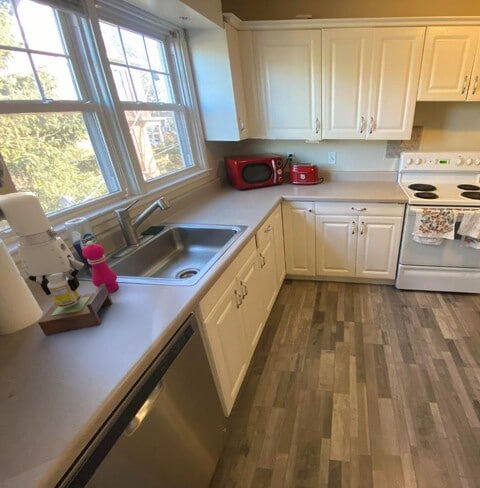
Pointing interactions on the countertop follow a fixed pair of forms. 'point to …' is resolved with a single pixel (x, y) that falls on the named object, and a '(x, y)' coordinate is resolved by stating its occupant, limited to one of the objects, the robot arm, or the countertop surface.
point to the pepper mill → (100, 267)
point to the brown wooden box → (76, 313)
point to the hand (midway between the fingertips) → (63, 290)
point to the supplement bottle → (62, 290)
